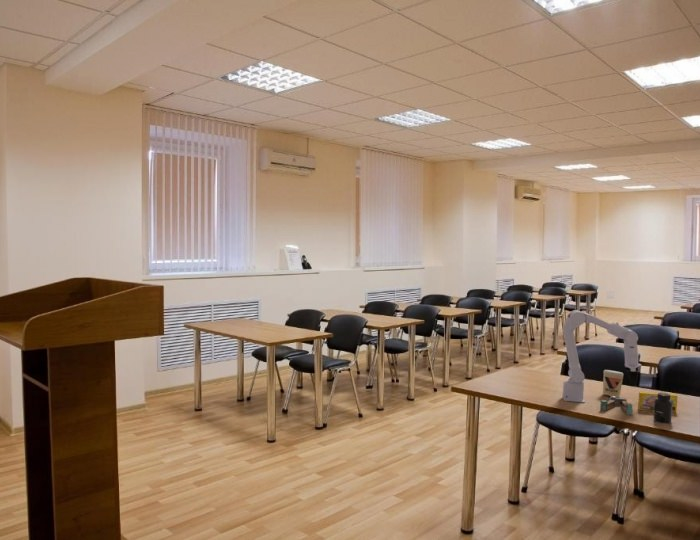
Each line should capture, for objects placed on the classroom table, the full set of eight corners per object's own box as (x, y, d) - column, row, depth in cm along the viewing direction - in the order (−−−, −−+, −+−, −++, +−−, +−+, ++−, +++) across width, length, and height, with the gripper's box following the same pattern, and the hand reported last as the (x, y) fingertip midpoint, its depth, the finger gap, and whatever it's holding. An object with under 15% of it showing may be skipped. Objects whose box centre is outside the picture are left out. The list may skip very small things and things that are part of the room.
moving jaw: (600, 410, 250) (600, 401, 250) (610, 405, 259) (611, 396, 259) (604, 411, 249) (605, 401, 249) (615, 406, 257) (615, 397, 257)
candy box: (639, 410, 253) (640, 392, 252) (637, 409, 255) (638, 391, 254) (676, 413, 250) (677, 395, 250) (674, 411, 252) (675, 394, 252)
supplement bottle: (654, 422, 235) (656, 394, 234) (652, 417, 241) (653, 391, 241) (672, 424, 232) (674, 396, 232) (669, 420, 239) (671, 393, 238)
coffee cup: (600, 394, 275) (603, 370, 275) (601, 392, 283) (603, 369, 284) (621, 398, 271) (623, 374, 271) (621, 395, 279) (623, 372, 279)
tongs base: (616, 413, 246) (616, 403, 246) (609, 403, 263) (609, 394, 263) (633, 415, 244) (633, 405, 244) (625, 404, 261) (625, 395, 261)
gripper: (642, 358, 252) (643, 387, 252) (639, 352, 265) (640, 380, 265) (625, 358, 254) (627, 386, 255) (623, 352, 268) (624, 379, 268)
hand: (632, 383), depth 260 cm, fingers open, 7 cm apart
